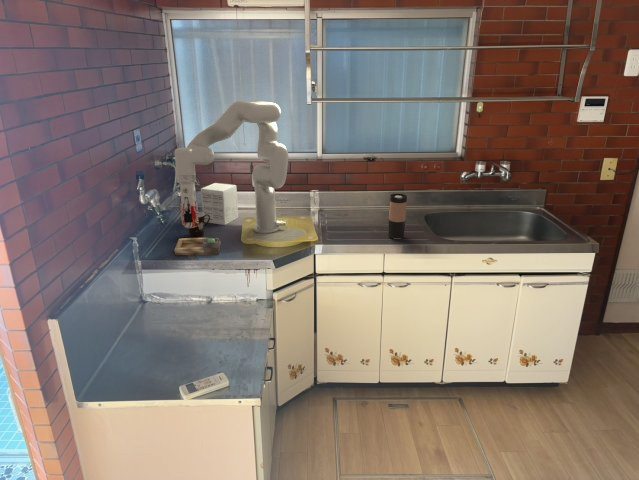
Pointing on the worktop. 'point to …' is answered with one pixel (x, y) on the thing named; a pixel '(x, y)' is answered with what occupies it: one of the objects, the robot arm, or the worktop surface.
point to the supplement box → (220, 203)
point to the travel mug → (397, 215)
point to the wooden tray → (197, 246)
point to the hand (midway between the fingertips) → (189, 219)
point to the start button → (211, 240)
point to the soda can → (194, 216)
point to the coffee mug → (199, 226)
